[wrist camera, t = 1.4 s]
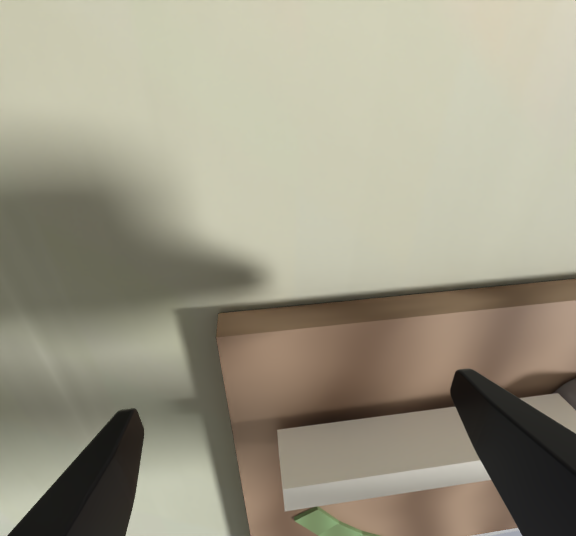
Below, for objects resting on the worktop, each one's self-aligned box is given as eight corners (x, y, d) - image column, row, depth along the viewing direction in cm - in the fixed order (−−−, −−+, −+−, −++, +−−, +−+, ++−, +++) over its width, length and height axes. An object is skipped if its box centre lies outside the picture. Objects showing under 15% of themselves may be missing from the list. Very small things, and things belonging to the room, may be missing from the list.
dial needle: (616, 371, 16) (681, 421, 14) (590, 412, 18) (645, 464, 15) (275, 414, 15) (282, 478, 12) (278, 455, 16) (285, 520, 14)
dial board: (691, 267, 16) (738, 286, 14) (545, 497, 26) (564, 523, 24) (218, 313, 14) (215, 340, 12) (255, 544, 24) (256, 575, 22)
